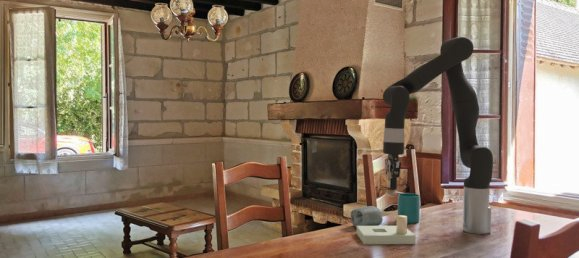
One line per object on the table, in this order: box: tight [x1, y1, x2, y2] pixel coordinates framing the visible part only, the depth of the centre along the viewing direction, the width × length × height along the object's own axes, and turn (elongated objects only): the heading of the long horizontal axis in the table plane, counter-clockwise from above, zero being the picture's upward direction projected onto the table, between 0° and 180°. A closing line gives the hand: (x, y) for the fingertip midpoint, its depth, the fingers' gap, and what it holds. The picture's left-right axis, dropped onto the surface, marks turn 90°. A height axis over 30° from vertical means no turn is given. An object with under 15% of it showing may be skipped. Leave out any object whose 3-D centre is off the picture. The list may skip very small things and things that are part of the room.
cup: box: [397, 192, 421, 224], centre depth 197 cm, size 9×12×11 cm
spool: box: [350, 205, 384, 229], centre depth 186 cm, size 14×10×10 cm
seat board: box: [356, 214, 416, 245], centre depth 168 cm, size 18×14×9 cm
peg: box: [386, 171, 398, 198], centre depth 170 cm, size 4×4×9 cm
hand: (391, 187), depth 170 cm, fingers closed on peg, 3 cm apart
